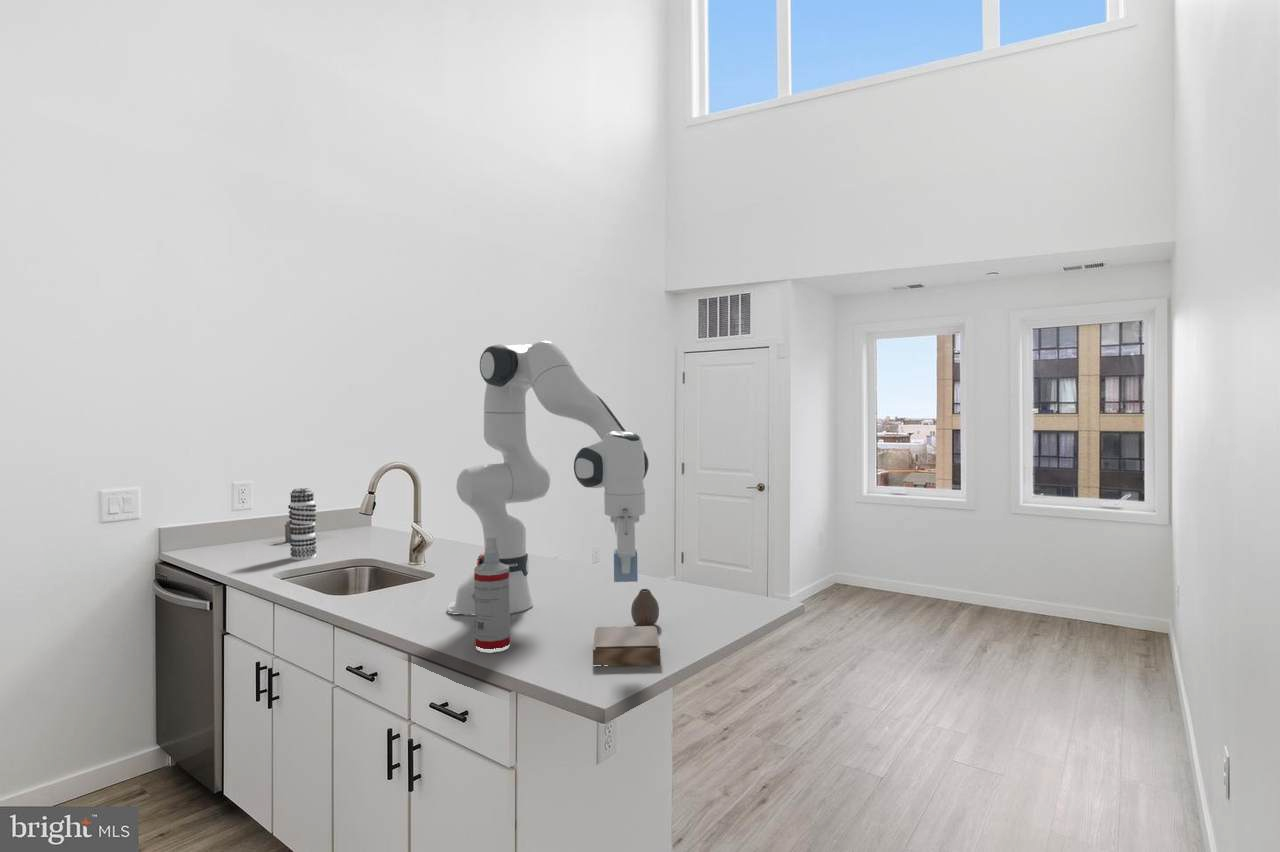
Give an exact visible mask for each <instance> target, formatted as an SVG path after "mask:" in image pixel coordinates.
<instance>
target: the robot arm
mask: <svg viewBox="0 0 1280 852" xmlns="http://www.w3.org/2000/svg"><path fill="white" fill-rule="evenodd" d="M479 370H480V371H479V372H480V375H481V377H482V379H483V380H484V382H485V383H486V386H485V392H484V402H483V439H484V441H485V443H486V444H487V445H488V446H489V447H491V448H492V449H494V450H496V451H497V452H501V455H502V458H503V462H502V463H501V462H500V463H488V464H487V463H486V464H485V463H483V464H477V465H474V466H470V467H467V468H464V469H463V470H461V472H460V474H459V475H458V477H457V479H456V486H455V487H456V492H457V495H458V497H459V499H460V500H461V501H462V502H463V503H464V504H465V505H467V506H468V507H469V508H471V509H472V511H474V512H475V514H476V516H477V517H478V519H479V520H480V523H481V526H482V530H483V542H484V544H483V545H484V550H485V549H486V538H492V537H497V549H498V551H499V561H500V563H503V564H505V565H509V591H510V613H511V614H516V613H520V612H523V611H526V610H529V609H531V608H532V607H533V606H534V604H533V600H532V597H531V591H530V586H529V580H528V574H529V554H528V553H527V530H526V526H525V524H524V522H522V521H521V520H520V519H519V518H516V517H514V516H512V515H510V514H508V512H507V507H506V505H508V504H517V503H528V502H532V501H536V500H539V499H541V498H544V497H545V496H546V495H547V494H548V492H549V489H550V485H551V476H550V473H549V471H548V469H547V468H546V467H545V466H544V465H543V464H542V463H541V462H539V461H538V459H536V458H535V456H534V455H533V453H532V452H531V450H530V447H529V444H528V443H529V442H528V438H527V422H526V418H527V416H526V414H527V412H526V411H527V409H526V408H527V407H526V406H527V405H526V396H527V395H526V394H527V393H528V391H529V390H530V389H531V388H532V389H533V392H534V394H535V396H536V398H537V400H538V401H539V403H540V405H541V406H542V407H543V408H544V409H545V410H546V411H547V412H549V413H550V414H553V415H555V416H558V417H563V418H569V419H571V420H575V421H578V422H581V423H584V425H587V426H589V427H590V428H591V429H592V430H594V431H595V433H596V434H597V436H598V437H599V438H600V441H597V442H596V443H594V444H591V445H589V446H585V447H582V448H581V449H580V450H579V451H578V452H577V454H575V458H574V461H573V470H574V476H575V478H576V480H577V481H578V483H579V484H580V485H581V486H583V487H584V488H588V489H600V488H604V494H603V495H604V499H603V500H604V503H603V504H604V515H605V516H608V517H610V519H609V520H610V522H611V523H613V524H614V533H615V538H616V539H615V540H616V549H617V553H618V557H621V564H622V573H623V574H627V573H630V561H631V557H634V556H635V549H636V524H637V523H639V522H640V517H641V516H643V515H645V514H646V490H645V487H644V479H645V478H646V476H647V473H648V469H649V458H648V456H647V455H648V454H647V453H646V451H645V450H644V445H643V441H642V438H641V437H640V436H639V435H638V434H637V433H635V432H632V431H626V429H625V427H623V425H622V424H621V422H620V421H619V420H618V419H617V417H616V416H615V414H614V413H613V411H612V410H611V409H610V408H609V406H608V405H607V404H606V402H605V401H604V400H603V399H602V398H601V397H600V396H598V395H597V394H596V393H595V392H594V391H592V390H591V389H590V388H589V387H588V386H587V385H586V384H585V383H584V382H583V381H582V379H581V378H580V376H579V375H578V374H577V372H576V371H575V369H574V367H573V365H572V364H571V362H570V360H569V359H568V358H567V356H566V355H565V354H564V352H563V351H562V350H561V349H560V348H559V347H558V345H556V344H555V343H554V342H552V341H548V340H542V341H536V342H535V343H533V344H529V343H528V344H526V343H525V344H524V343H521V344H506V345H504V344H495V345H491V346H490V345H489V346H488V347H486V348H485V349H484V350H483V352H482V354H481V355H480V360H479ZM484 554H485V553H480V554H479V555H478V557H477V559H476V565H477V566H479V565H481V564H483V563H484ZM455 596H456V597H455V599H454V600H452V601H451V602H450V603H449V604H448V605H447V610H448V611H449V612H450V613H459V614H475V585H474V572H472V573H471V574H470V575H469V576H468V577H467V578H465V580H463V581H462V582H461V583H460V584H459V586H458V589H457V591H456V595H455ZM515 612H516V613H515Z"/></svg>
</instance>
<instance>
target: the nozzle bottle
mask: <svg viewBox="0 0 1280 852" xmlns="http://www.w3.org/2000/svg"><path fill="white" fill-rule="evenodd" d="M483 554H484V563H483V564H481V565H479V566H475V567H474V571H473V573H474V585H475V616H474V630H475V631H474V637H475V638H474V639H475V640H474V641H475V644H474V646H477V647H480V648H483V649H494V648H495V649H496V648H503V647H505V646H508V645H509V644H510V645H511V614H510V591H509V565H505V564H503V563H500V561H499V551H498V549H497V537H492V538H486V549H485V548H484V553H483Z"/></svg>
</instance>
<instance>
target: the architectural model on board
mask: <svg viewBox="0 0 1280 852" xmlns="http://www.w3.org/2000/svg"><path fill="white" fill-rule="evenodd" d="M289 521H291V519H290V520H288V521H286V522H285V524H284V530H285V532H284V533H285V535H284V536H285V538H284V539H285V543H288V544H291V543H292V542H291V541H290V539H292V538H291V533H292V531H291V529H292V528H291V527H290V525H291V524H290V522H289ZM315 525H316V524H315ZM315 525H314V532H315V531H316V530H315V529H316V528H315ZM315 533H316V532H315Z"/></svg>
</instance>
